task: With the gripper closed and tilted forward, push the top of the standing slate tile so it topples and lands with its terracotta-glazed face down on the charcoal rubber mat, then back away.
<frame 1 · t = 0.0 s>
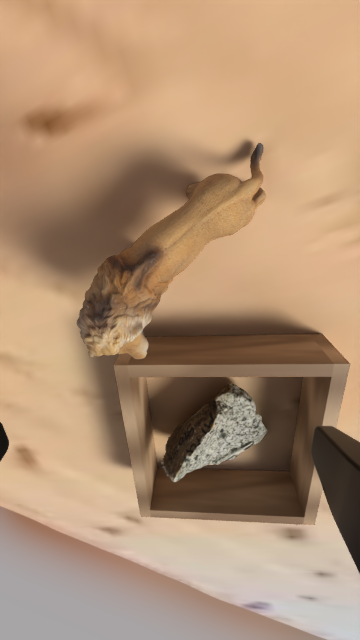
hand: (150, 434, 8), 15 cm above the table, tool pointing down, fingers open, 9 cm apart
rock sample: (223, 413, 26), resting in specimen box
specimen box: (222, 414, 26), on the table
lion figurine: (183, 244, 20), on the table
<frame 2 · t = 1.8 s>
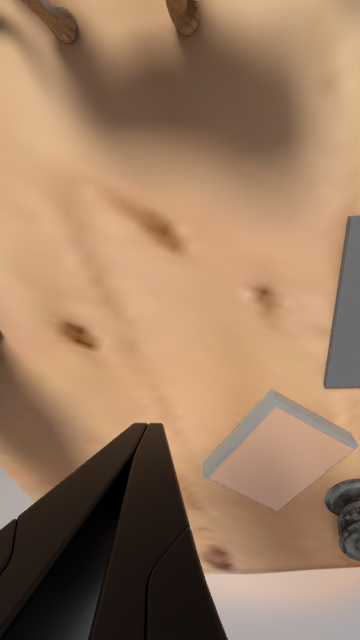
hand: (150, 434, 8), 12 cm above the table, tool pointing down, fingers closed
done tile: (271, 444, 24), on the table
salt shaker: (353, 496, 25), on the table
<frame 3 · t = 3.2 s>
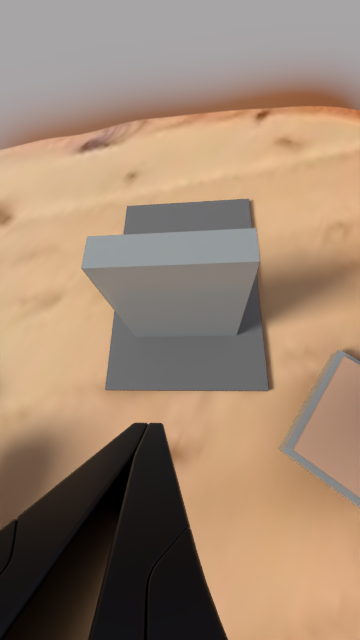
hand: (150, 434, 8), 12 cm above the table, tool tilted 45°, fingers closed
mat: (186, 284, 23), on the table
tile: (185, 325, 21), resting on mat
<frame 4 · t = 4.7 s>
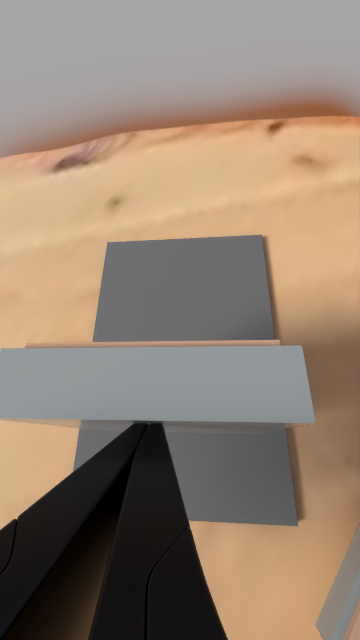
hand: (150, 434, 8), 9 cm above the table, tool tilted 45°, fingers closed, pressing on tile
mat: (181, 352, 18), on the table
tile: (179, 416, 16), resting on mat, touching gripper
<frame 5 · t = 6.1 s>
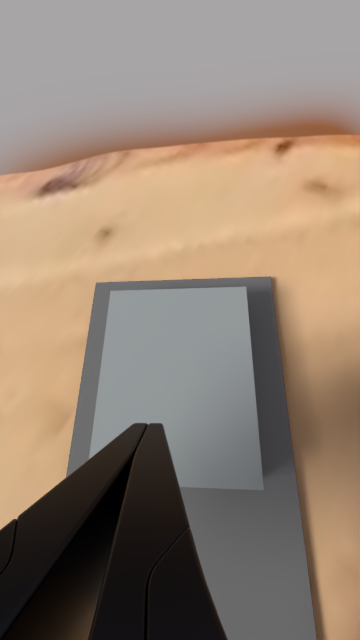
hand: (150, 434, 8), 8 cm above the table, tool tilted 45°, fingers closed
mat: (178, 420, 15), on the table
tile: (174, 482, 13), point 2 cm above the table, tilted 90°, touching mat
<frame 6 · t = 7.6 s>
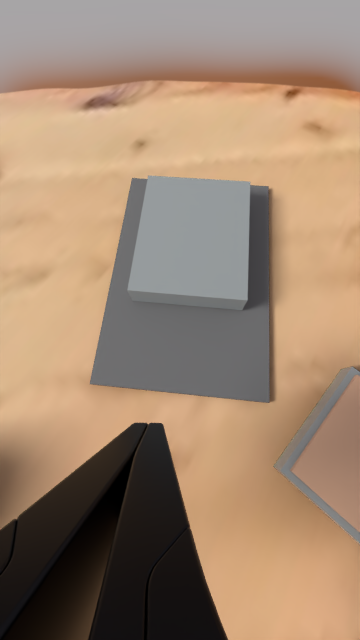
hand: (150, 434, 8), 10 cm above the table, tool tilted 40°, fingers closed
mat: (190, 275, 21), on the table
tile: (186, 300, 18), point 2 cm above the table, tilted 90°, touching mat
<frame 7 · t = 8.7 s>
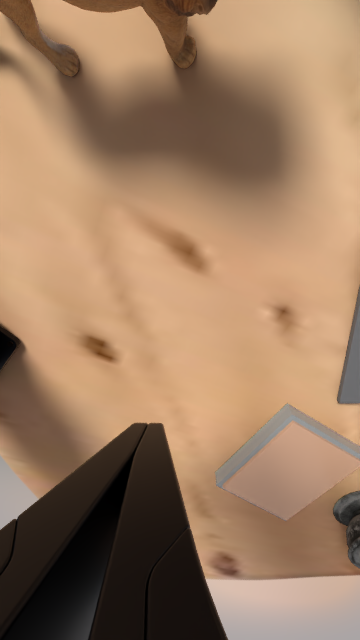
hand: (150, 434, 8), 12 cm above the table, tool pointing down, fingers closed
done tile: (282, 455, 24), on the table
lion figurine: (122, 11, 13), on the table
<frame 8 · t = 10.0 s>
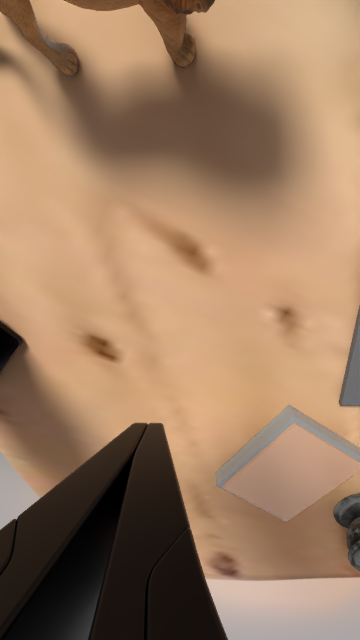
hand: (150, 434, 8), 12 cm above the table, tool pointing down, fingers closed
done tile: (283, 456, 24), on the table
lion figurine: (122, 9, 13), on the table
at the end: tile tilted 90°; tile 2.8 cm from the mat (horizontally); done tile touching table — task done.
